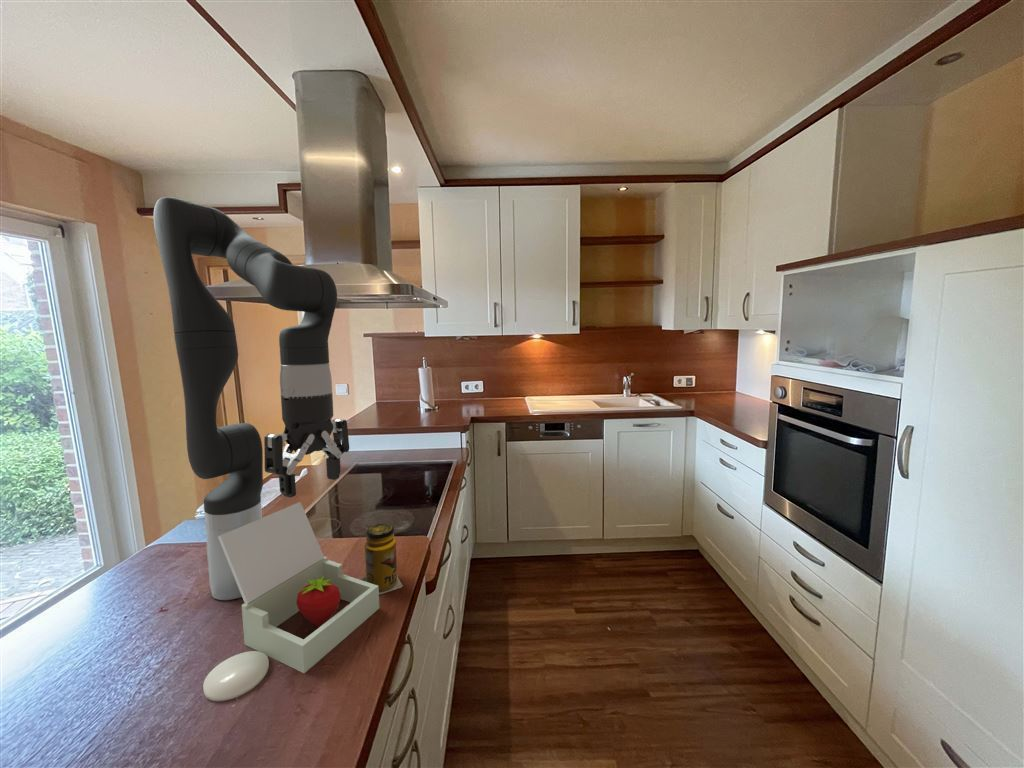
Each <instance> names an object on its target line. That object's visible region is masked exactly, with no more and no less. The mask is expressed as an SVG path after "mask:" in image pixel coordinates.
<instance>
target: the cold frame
mask: <svg viewBox="0 0 1024 768" xmlns="http://www.w3.org/2000/svg"><path fill="white" fill-rule="evenodd" d="M218 539H219V541H220V543H221V546H222V548H223V551H224V553H225V556H226V558H227V561H228V563H229V566H230V568H231V571H232V573H233V575H234V578H235V580H236V583H237V585H238V588H239V590H240V593H241V595H242V597H241V599H243V602H244V603H242V604H241V616H242V628H243V630H242V631H243V641H244V643H243V644H244V645H245V646H247V647H249V648H251V649H253V650H254V651H259V652H262V653H264V654H266V655H267V657H268V658H271V659H273V660H275V661H277V662H279V663H282V664H284V665H286V666H287V667H290V668H291V669H294V670H296V671H298V672H300V673H302V674H306V673H307V672H308V671H309V670H310V669H311V668H312V667H314V666H315V665H316V664H317V663H318V662H319V661H320V660H322V659H323V658H324V657H325V656H327V655H328V654H329V653H330V652H331V651H332V650H333V649H334V648H336V647H337V646H338V645H339V644H340V643H341V642H342V641H344V639H346V638H347V637H348V636H349V635H350V634H352V633H353V632H354V631H355V630H356V629H357V628H359V627H360V626H362V624H363V623H364V622H365V621H366V620H368V619H369V618H370V617H371V616H373V615H374V613H376V612H377V611H378V610H379V609H380V594H379V586H377V585H374V584H371V583H368V582H365V581H362V580H359V579H360V578H355V577H352V576H350V575H346V574H344V573H343V564H342V563H340V562H336V561H332V560H329V559H328V557H327V556H325V555H324V553H323V551H322V548H321V546H320V544H319V541H318V539H317V537H316V534H315V533H314V531H313V528H312V526H311V523H310V521H309V518H308V516H307V514H306V511H305V510H304V507H303V504H302V502H301V501H299V502H296V503H294V504H291V505H289V506H288V507H285V508H282V509H280V510H278V511H275V512H273V513H270V514H268V515H265V516H262V518H261V519H258V520H256V521H254V522H251V523H249V524H246V525H244V526H242V527H239V528H237V529H234V530H232V531H230V532H227V533H225V534H222V535H220V536H218ZM313 576H314V577H315V578H316V580H317V579H321V578H322V577H323V576H325V577H324V579H323V580H329V579H332V580H330V581H329V582H330V583H332V584H334V585H335V586H337V587H338V589H339V592H340V595H341V598H340V600H342V601H346V602H348V603H349V604H347V605H346V606H345V607H344V608H342V609H341V610H340V611H339V612H337V613H336V614H335V615H332V617H331V618H330V619H329V620H328V621H327V622H326V623H324V624H323V625H322V626H320V627H317V629H314V631H313V632H311V633H310V634H309V635H307V636H306V637H305V638H304V639H303V638H301V637H299V636H296V635H294V634H292V633H290V632H288V631H285V630H283V629H281V628H279V626H280V625H281V624H282V623H284V622H286V621H287V620H288V619H290V618H292V616H294V615H295V614H298V613H299V612H300V611H299V608H298V606H297V603H296V601H297V595H298V593H299V592H300V590H302V589H303V588H304V587H305V586H307V585H309V583H308V582H307V580H312V581H315V578H314V577H313ZM323 580H322V581H323Z"/></svg>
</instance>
